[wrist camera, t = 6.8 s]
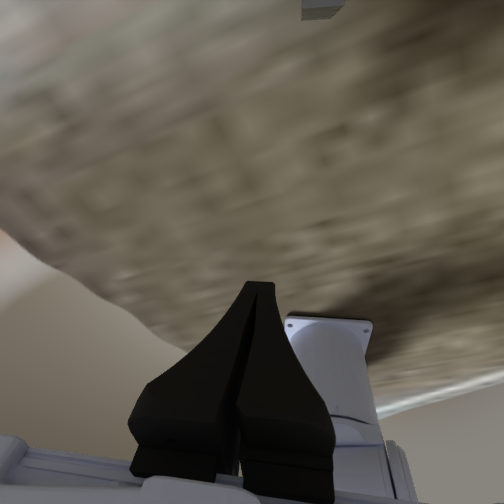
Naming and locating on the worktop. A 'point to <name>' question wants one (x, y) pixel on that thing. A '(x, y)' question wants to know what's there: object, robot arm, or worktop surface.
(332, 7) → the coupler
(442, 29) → the worktop surface
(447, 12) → the worktop surface
